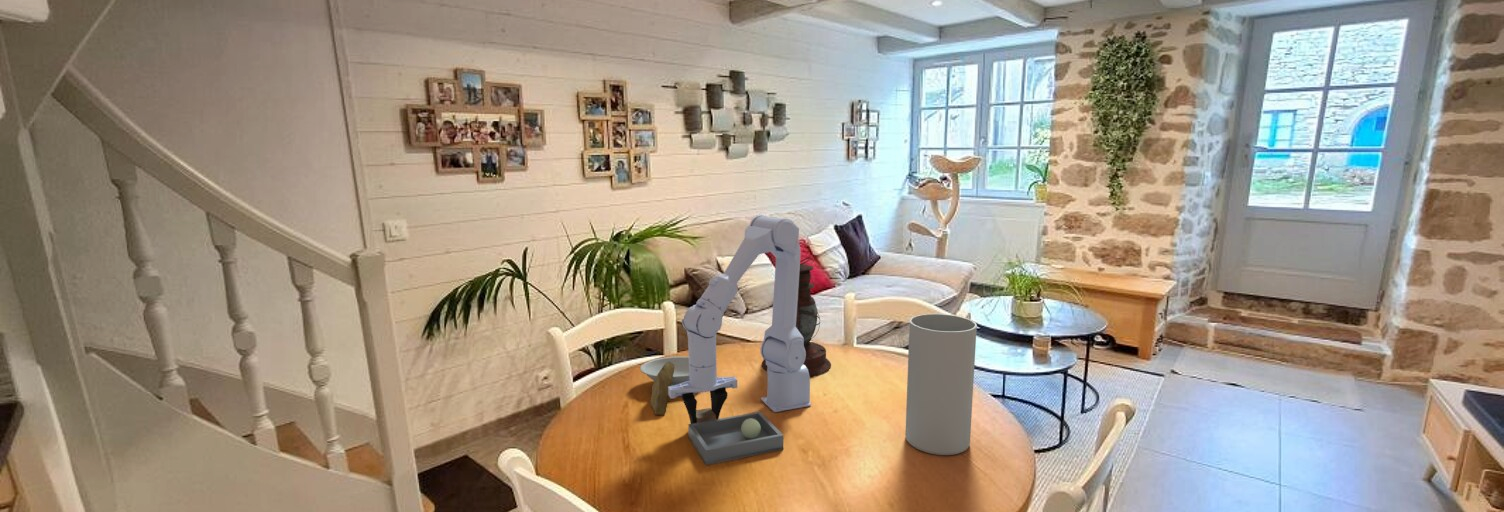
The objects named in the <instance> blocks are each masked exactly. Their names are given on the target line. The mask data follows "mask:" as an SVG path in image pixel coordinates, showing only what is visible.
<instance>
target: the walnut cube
mask: <svg viewBox="0 0 1504 512" xmlns="http://www.w3.org/2000/svg"><path fill="white" fill-rule="evenodd" d="M715 419H716V415H715V413H714V412H713V411H712V410H711V407H707V408H701V409H696V420H697V423H698V422H704V421H709V420H715Z"/></svg>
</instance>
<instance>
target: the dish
mask: <svg viewBox="0 0 1504 512" xmlns="http://www.w3.org/2000/svg"><path fill="white" fill-rule="evenodd" d="M667 362H671V363H673V364H674V365H675V369H674V374H673V379H672V384H671V386H674V385H677V384H681V383H684V382H687V381H689V356H667V357H660V358H655V359H652V360H648V361H647V362H646V361H645V362H644V363H643V364H641V366H640V368H639V369H640V372H641V373H643V374H645V375H646V376H647V377H648V378H649V379H650V380H653V382H654V381H655V380H656V376H657V375H658V373H659V372H660V370H661V369H662V367H663V366H664V364H666V363H667Z"/></svg>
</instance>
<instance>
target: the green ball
mask: <svg viewBox="0 0 1504 512" xmlns="http://www.w3.org/2000/svg"><path fill="white" fill-rule="evenodd" d="M741 431H742V434H743V435H744V436H745V437H746V438H749V439H753V438H756V437H757V436H758V435H759V433H760V431H761V426H760V424H759V422H758V421H757V420H755V419H753V418H749V419H746V420H745V421H744V422H743V423H742V426H741Z"/></svg>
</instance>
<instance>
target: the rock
mask: <svg viewBox="0 0 1504 512" xmlns="http://www.w3.org/2000/svg"><path fill="white" fill-rule="evenodd" d="M674 369H675V365H674V364H673V363H671V362H667V363H666V364H664V366H663V367H662V369H661V370H660V372H659V373H658V375H657V376H656V380H655V381H654V380H653V383H652V386H651V396H650V401H649V403H650V406H651V408H652V410H653V411H654V412H653V413H654V414H655V415H659V416H663V415H664V416H665V415H666V412H667V408H668V403H669V399H670V397H669V395H668V387H669V386H672V385H671V384H672V379H673V374H674Z"/></svg>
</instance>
